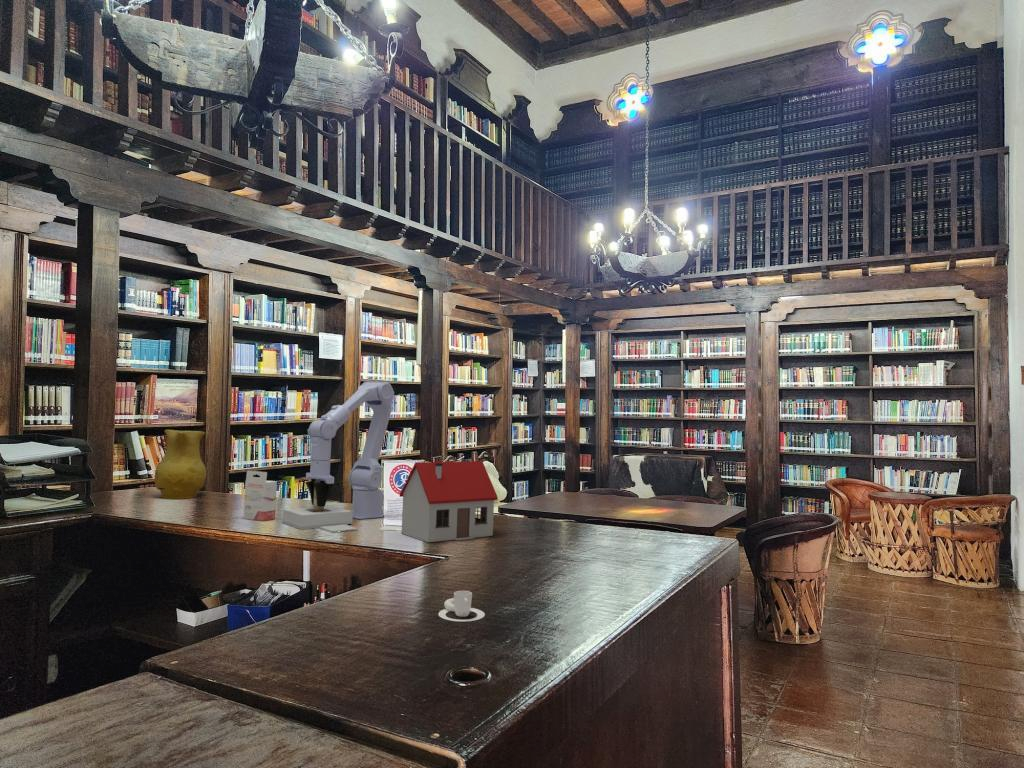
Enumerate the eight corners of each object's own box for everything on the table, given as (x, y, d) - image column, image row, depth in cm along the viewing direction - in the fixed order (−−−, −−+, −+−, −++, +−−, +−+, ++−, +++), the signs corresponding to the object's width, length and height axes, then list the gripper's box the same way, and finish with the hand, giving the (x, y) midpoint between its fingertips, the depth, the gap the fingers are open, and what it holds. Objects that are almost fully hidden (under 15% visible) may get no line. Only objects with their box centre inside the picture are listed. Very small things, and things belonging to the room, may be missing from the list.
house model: (472, 527, 201) (475, 459, 202) (502, 539, 183) (505, 464, 184) (393, 531, 189) (397, 459, 190) (417, 544, 171) (420, 464, 172)
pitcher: (140, 497, 235) (149, 427, 237) (175, 494, 253) (183, 429, 256) (183, 501, 232) (192, 430, 234) (215, 498, 250) (223, 432, 253)
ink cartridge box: (276, 519, 201) (278, 471, 202) (264, 521, 197) (267, 472, 198) (254, 516, 205) (257, 469, 205) (242, 518, 200) (245, 470, 201)
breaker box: (331, 518, 206) (332, 505, 206) (352, 524, 197) (352, 511, 197) (282, 522, 195) (283, 509, 196) (301, 529, 186) (302, 515, 186)
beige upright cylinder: (321, 513, 198) (323, 480, 199) (324, 514, 196) (326, 481, 196) (311, 514, 197) (313, 480, 197) (315, 515, 194) (316, 481, 195)
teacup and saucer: (442, 607, 117) (443, 584, 118) (486, 609, 117) (487, 586, 117) (435, 623, 109) (436, 598, 109) (482, 625, 108) (483, 600, 109)
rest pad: (344, 526, 194) (344, 524, 194) (358, 530, 188) (358, 528, 188) (319, 528, 188) (319, 526, 188) (332, 532, 182) (332, 531, 183)
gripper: (297, 458, 200) (295, 503, 199) (319, 462, 189) (316, 509, 188) (319, 458, 204) (317, 501, 204) (341, 461, 194) (339, 507, 193)
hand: (318, 505), depth 196 cm, fingers closed on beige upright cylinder, 3 cm apart
